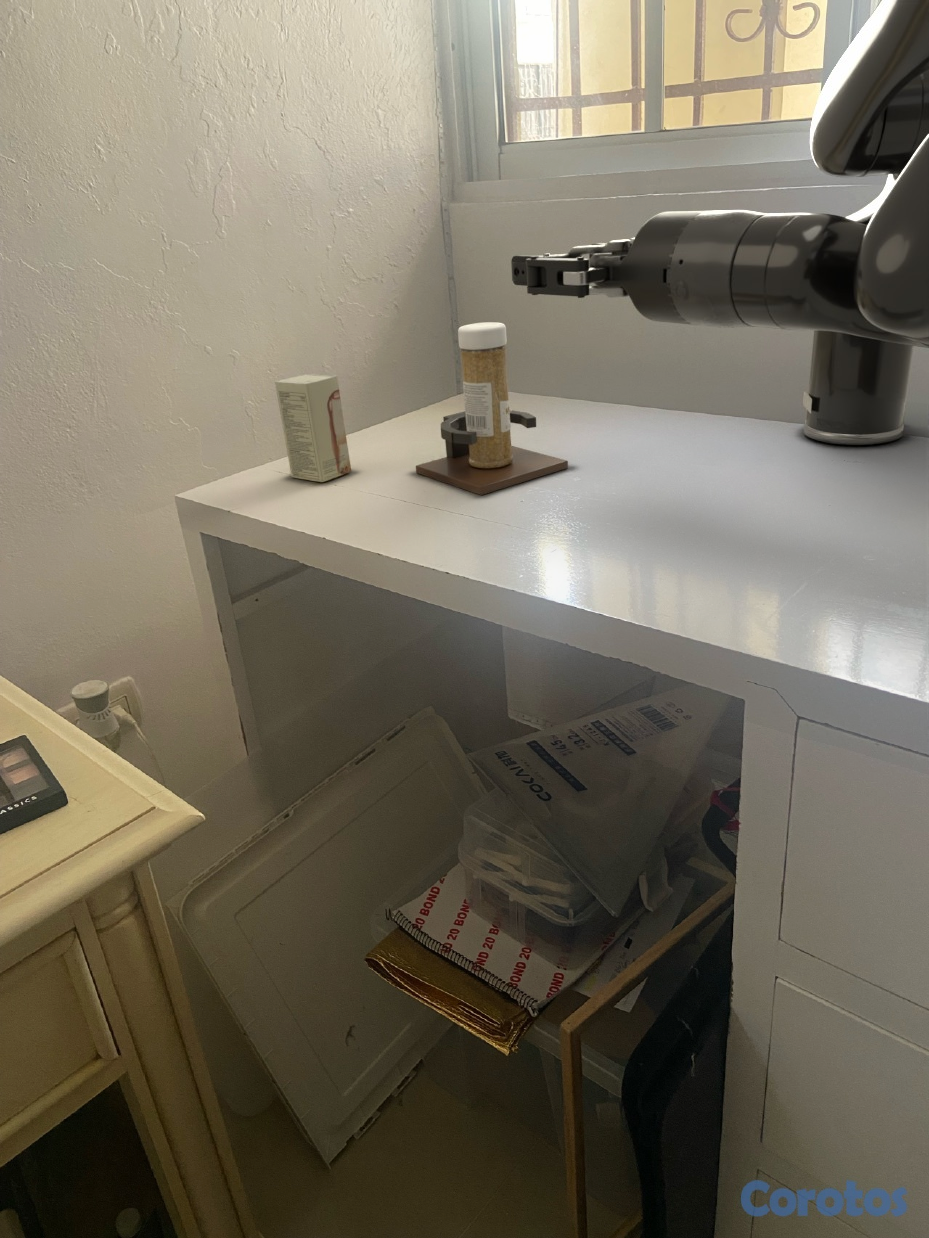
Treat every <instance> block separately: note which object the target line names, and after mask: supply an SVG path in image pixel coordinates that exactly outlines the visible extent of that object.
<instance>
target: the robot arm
mask: <svg viewBox="0 0 929 1238" xmlns="http://www.w3.org/2000/svg"><path fill="white" fill-rule="evenodd" d="M809 132H810V133H809V137H810V138H809V146H810V153H811V157H812V159H813V161H814V164H815V165H816V167H817V168H818V170H820V171H821V172H822V173H824V174H825V175H828V176H831V177H836V178H842V179H843V178H848V179H849V178H863V177H865V178H866V177H877V176H887V178H886V182H885V184H884V187H883V189H882V191H880V193H879V194H878V195H877V196H876V197H875V198H874V199H873V200H872V201H870V202H869V203H868V204H867V205H865V206H864V207H862V208H860V209H858V210H856V211H854V212H853V213H851V214H849V215H846V216H840V215H837V214H831V213H822V212H785V213H784V212H781V213H780V212H779V213H777V212H776V213H767V212H765V213H764V212H758V211H754V210H753V211H752V210H746V209H732V210H731V209H729V210H727V209H726V210H723V209H722V210H687V211H686V210H682V211H681V210H680V211H679V210H677V211H662V212H660V213H657V214H655V215H653V216H652V217H650V218H649V219H648V220H646V222H645V223H643V224H642V226H641V227H640V229H639V230H638V231H637V233H636V234H635V237H630V238H629V239H616V240H615V239H614V240H610V241H609V242H597V243H592V244H590V245H577V246H576V245H575V246H573V247H571V248H570V249H569V250H568V252H567V253H558V254H550V252H546V253H542V254H541V255H538V254H519V255H513V256H512V257H511V262H510V264H511V265H510V267H511V281H512V283H513V284H514V285H515V286H522V287H523V286H524V287H526V293H527V294H530V295H531V296H538V295H544V296H545V295H547V296H561V297H577V299H583V298H585V297H587V296H597V295H604V296H606V297H607V298H625V297H629V299H630V300H631V301H630V302H632V304H633V306H634V308H635V309H636V311H637V312H639V314H640V315H641V316H643V317H644V318H645V319H647V320H650V321H653V322H659V323H670V324H681V325H690V326H701V327H712V328H721V329H735V328H746V327H749V328H766V329H778V330H786V331H813V337H812V349H811V360H810V369H809V370H810V373H809V382H808V393H807V392H806V391H805V390H803V399H802V405H803V407H804V408H805V409H806V415H805V416H806V417H805V420H804V424H803V425H804V426H803V434H804V435H805V436H806V437H808V438H810V439H812V440H815V441H819V442H823V443H827V444H836V445H848V446H849V445H850V446H867V445H877V444H878V445H879V444H885V443H890V442H894V441H896V440H898V439H900V438H902V436H903V435H904V427H905V422H904V421H905V420H904V419H905V412H906V406H907V405H906V404H907V398H908V392H909V385H910V384H909V383H910V376H911V370H912V369H911V368H912V362H913V356H914V355H913V354H914V347H917V348H918V347H919V348H924V349H929V0H880V1H879V2H878V4H877V6H876V7H875V9H874V10H873V12H872V13H871V15H869V18H868V19H867V21H866V22H865V24H864V25H863V27H862V28H861V29H860V30H859V33H858V34H857V35H855V38H854V39H853V41H852V42H851V43H850V45H849V46H848V48H847V49H846V50H845V52H844V53H843V55H842V56H841V58H840V59H839V60H838V62H837V64H836V66H835V67H834V68H833V70H832V71H831V73H830V75H829V77H828V79H827V80H826V82H825V84H824V86H823V88H822V90H821V93H820V95H819V97H818V100H817V104H816V106H815V109H814V113H813V116H812V120H811V125H810V131H809ZM583 255H588V258H585V257H584V256H583ZM591 284H594V285H591Z"/></svg>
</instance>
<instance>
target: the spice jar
mask: <svg viewBox="0 0 929 1238" xmlns="http://www.w3.org/2000/svg"><path fill="white" fill-rule="evenodd" d="M457 339H458V347H459V348H460V353H461V365H462V387H463V389H462V390H463V402H464V411H465V414H466V426H467V431H469V432H477V443H475V444H472V445H469V453H470V457H469V463H470V465H472V466H473V467H476V468H485V469H492V468H498V467H503V466H506V465H508V464H510V463H511V462H512V461H513V454H512V450H511V446H512V439H511V437H512V436H511V423H510V411H511V410H510V398H509V397H510V396H509V385H508V384H509V383H508V377H507V363H506V359H507V358H506V349H507V346H506V345H507V342H508V339H507V327H506V324H504V323H502V322H497V321H496V322H495V321H494V322H492V321H491V322H490V321H486V322H485V321H484V322H475V323H470V324H465V325H461V326H460V327H459V328H458V329H457ZM509 410H510V411H509Z"/></svg>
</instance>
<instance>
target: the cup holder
mask: <svg viewBox="0 0 929 1238" xmlns="http://www.w3.org/2000/svg"><path fill="white" fill-rule="evenodd" d="M509 411H510V424H517V425H521V426H523V427H525V428H526V429H532V428H537V417H536V416H534V415H533V414H531V413H529V412H526V411H525V412H524V411H519V410H514V409H513V410H510V409H509ZM442 419H443V421H441V422H440V438H441V439H442V440H444V443H445V455H446V456H445V457H442V458H437V459H434V460H431V461H427V462H425V463H420V464H417V465H415V473H416V474H419V475H422V476H424V477H427V478H430V479H433V480H436V481H439V482H442V483H445V484H448V485H451V486H454V487H456V488H460V489H461V490H462V489H463V490H465V491H468V492H471V493H474V494H476V495H479V496H483V495H486V494H490V493H493V492H496V491H499V490H502V489H505V488H509V487H512V486H515V485H518V484H521V483H524V482H527V481H531V480H534V479H537V478H540V477H545V476H547V475H550V474H553V473H556V472H559V471H563V470H565V469H568V468H569V460H567V459H563V458H559V457H555V456H551V455H548V454H544V453H540V452H537V451H533V450H529V449H525V448H523V447H519V446H515V445H511V450H512V454H513V461H512V462H511V463H510V464H508V465H506V466H503V467H498V468H492V469H485V468H476V467H473V466H472V465H470V463H469V457H470V453H469V445H472V444H475V443H477V432H469V431H467V426H466V414H465V410H464V411H461V412H457V413H452V414H449V415H445V416H442Z"/></svg>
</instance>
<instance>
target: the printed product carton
mask: <svg viewBox="0 0 929 1238" xmlns="http://www.w3.org/2000/svg"><path fill="white" fill-rule="evenodd" d="M274 385H275V391H276V396H277V401H278V407H279V413H280V419H281V425H282V430H283V436H284V442H285V446H286V447H285V449H286V453H287V459H288V464H289V469H290V471H289V472H290V476H291V478H295V479H299V480H307V481H312V482H318V483H319V482H320V483H324V482H327V481H331V480H332V479H335V478H338V477H341V476H344V475H346V474H348V473H351V472H352V467H351V466H352V465H351V460H350V459H351V458H350V453H349V446H348V439H347V433H346V425H345V419H344V412H343V406H342V400H341V399H342V398H341V393H340V386H339V379H338V375H332V374H331V375H330V374H318V373H317V374H316V373H304V374H300V375H296V376H292V377H288V378H283V379H281V380H275V381H274Z"/></svg>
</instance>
